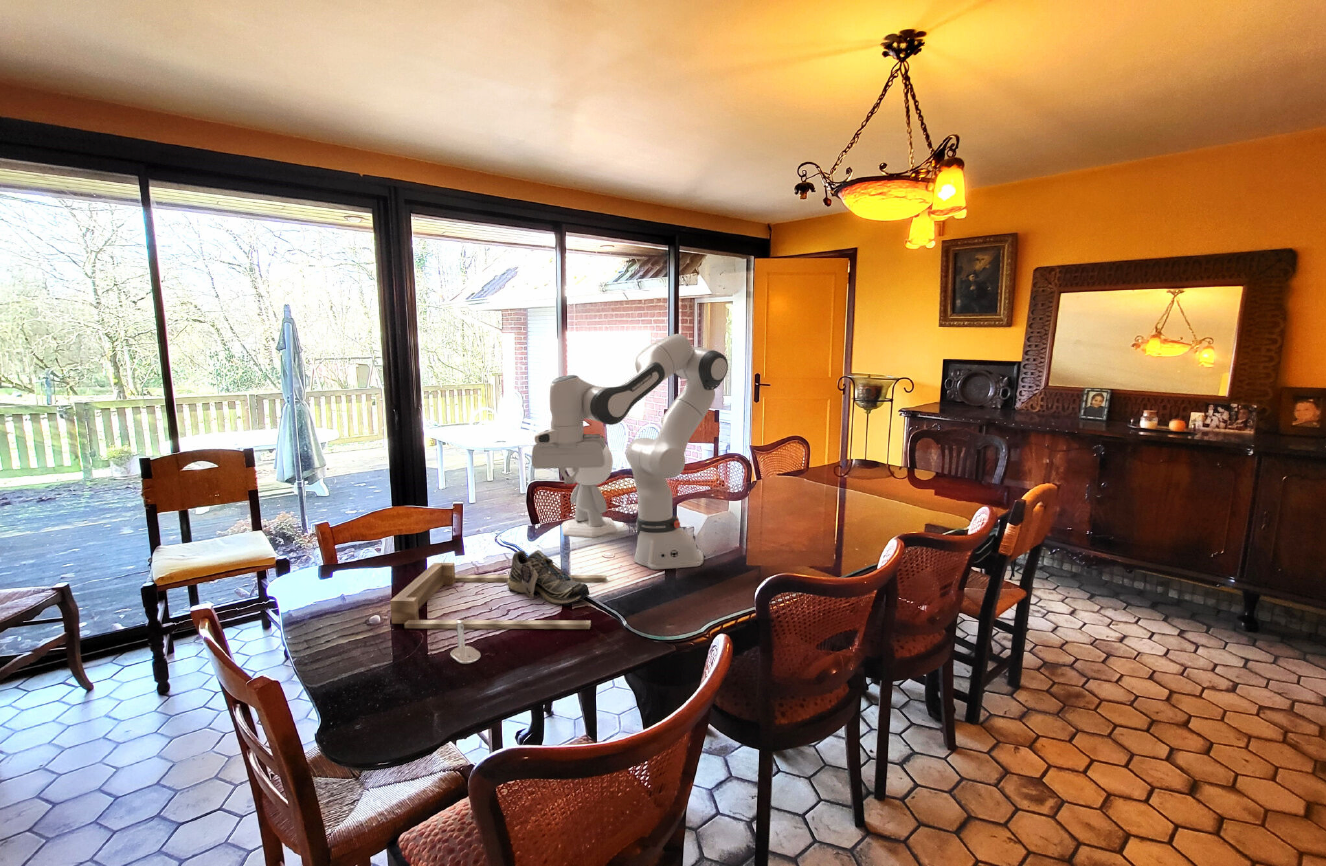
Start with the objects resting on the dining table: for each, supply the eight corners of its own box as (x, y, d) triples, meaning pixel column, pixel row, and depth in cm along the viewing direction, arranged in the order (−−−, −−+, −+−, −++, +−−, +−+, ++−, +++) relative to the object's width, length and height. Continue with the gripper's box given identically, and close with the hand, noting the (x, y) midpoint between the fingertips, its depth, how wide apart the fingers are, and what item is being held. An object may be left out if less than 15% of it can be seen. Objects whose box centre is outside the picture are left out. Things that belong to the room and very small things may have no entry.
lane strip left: (590, 625, 144) (590, 620, 143) (589, 628, 142) (589, 624, 141) (408, 624, 145) (408, 619, 145) (404, 628, 143) (404, 623, 143)
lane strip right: (606, 578, 172) (606, 575, 172) (605, 581, 170) (605, 577, 170) (454, 578, 174) (453, 575, 174) (451, 581, 172) (451, 577, 172)
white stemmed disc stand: (464, 666, 126) (446, 653, 131) (484, 657, 129) (467, 645, 135) (461, 633, 125) (444, 621, 130) (482, 625, 128) (464, 614, 134)
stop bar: (455, 582, 171) (454, 562, 171) (415, 623, 146) (413, 600, 145) (435, 582, 172) (434, 562, 171) (392, 623, 146) (390, 600, 145)
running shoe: (573, 614, 150) (571, 569, 148) (493, 594, 163) (491, 553, 161) (599, 596, 161) (598, 554, 159) (523, 578, 174) (521, 540, 172)
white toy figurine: (628, 527, 222) (626, 437, 217) (579, 541, 206) (575, 444, 201) (597, 517, 236) (594, 432, 231) (548, 529, 221) (544, 438, 216)
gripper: (606, 432, 163) (608, 479, 165) (534, 433, 164) (536, 481, 166) (603, 435, 157) (605, 485, 159) (528, 437, 157) (531, 486, 160)
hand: (570, 483), depth 163 cm, fingers closed
